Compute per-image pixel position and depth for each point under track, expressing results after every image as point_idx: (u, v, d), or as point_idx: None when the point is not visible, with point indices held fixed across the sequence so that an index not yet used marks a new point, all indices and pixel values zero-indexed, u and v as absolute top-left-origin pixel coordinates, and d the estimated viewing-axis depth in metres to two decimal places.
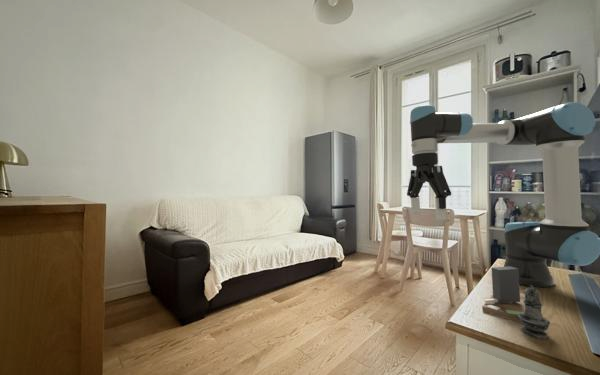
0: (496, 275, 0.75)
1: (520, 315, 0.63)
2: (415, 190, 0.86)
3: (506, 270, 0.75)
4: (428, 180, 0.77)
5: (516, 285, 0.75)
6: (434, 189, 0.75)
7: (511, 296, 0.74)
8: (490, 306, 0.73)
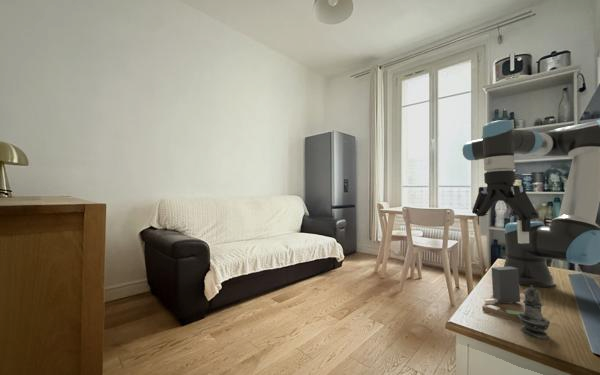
0: (496, 275, 0.75)
1: (520, 315, 0.63)
2: (484, 208, 0.82)
3: (506, 270, 0.75)
4: (507, 200, 0.73)
5: (516, 285, 0.75)
6: (515, 210, 0.70)
7: (511, 296, 0.74)
8: (490, 306, 0.73)
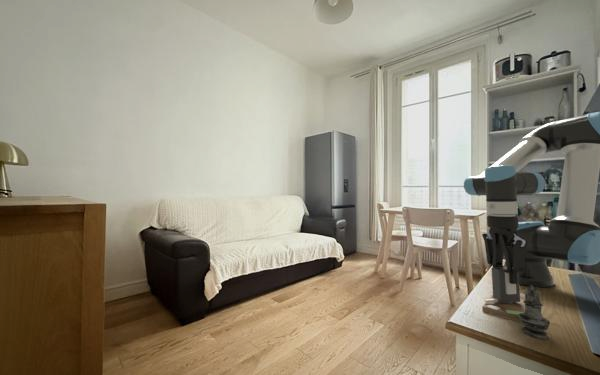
0: (496, 275, 0.75)
1: (520, 315, 0.63)
2: (497, 257, 0.77)
3: (506, 270, 0.75)
4: (504, 249, 0.74)
5: (516, 285, 0.75)
6: (507, 261, 0.74)
7: (511, 296, 0.74)
8: (490, 306, 0.73)
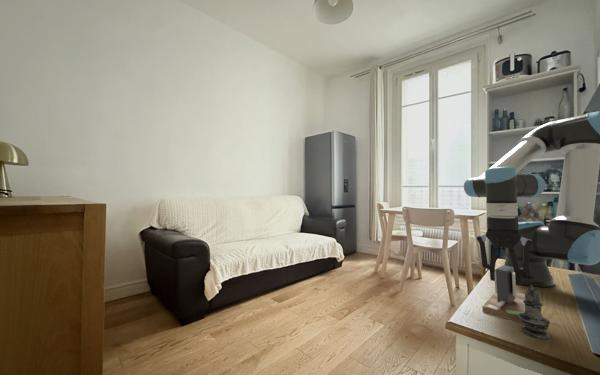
0: (502, 277, 0.74)
1: (520, 315, 0.63)
2: None
3: (509, 270, 0.74)
4: (512, 250, 0.73)
5: None
6: (515, 263, 0.73)
7: (512, 295, 0.75)
8: (490, 306, 0.73)
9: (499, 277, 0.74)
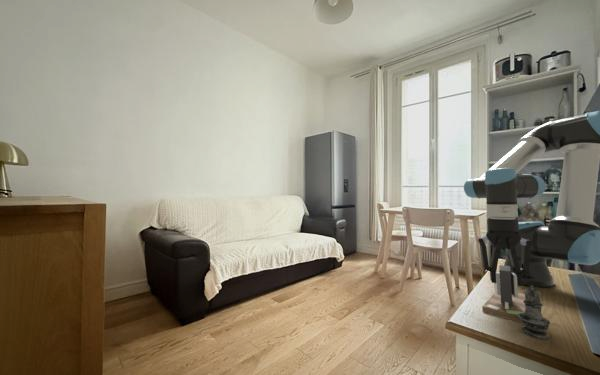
0: (506, 277, 0.73)
1: (520, 315, 0.63)
2: None
3: None
4: (514, 252, 0.74)
5: None
6: (516, 264, 0.73)
7: None
8: (490, 306, 0.73)
9: (503, 278, 0.74)
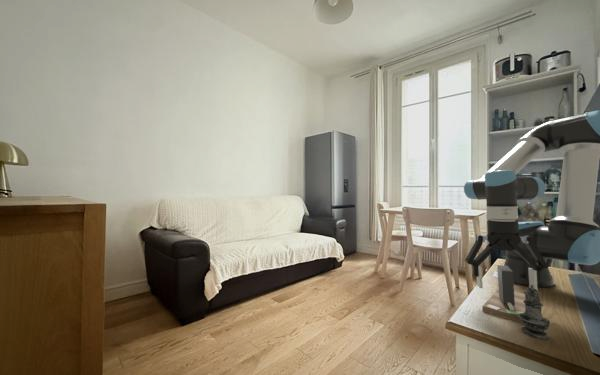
0: (509, 277, 0.73)
1: (520, 315, 0.63)
2: None
3: (510, 270, 0.75)
4: (521, 251, 0.73)
5: None
6: (531, 261, 0.73)
7: None
8: (490, 306, 0.73)
9: (505, 278, 0.73)
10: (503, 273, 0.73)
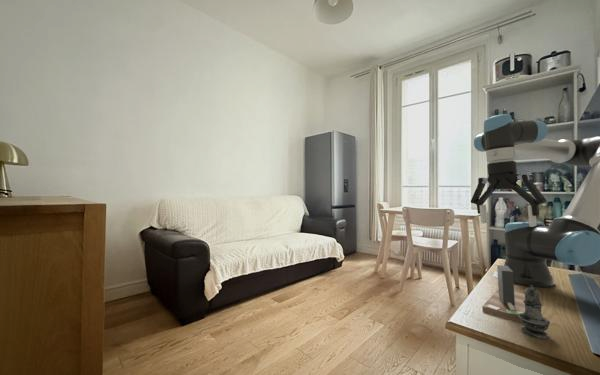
0: (509, 277, 0.73)
1: (520, 315, 0.63)
2: (485, 197, 0.87)
3: (510, 270, 0.75)
4: (515, 188, 0.79)
5: None
6: (525, 197, 0.77)
7: None
8: (490, 306, 0.73)
9: (505, 278, 0.73)
10: (503, 273, 0.73)
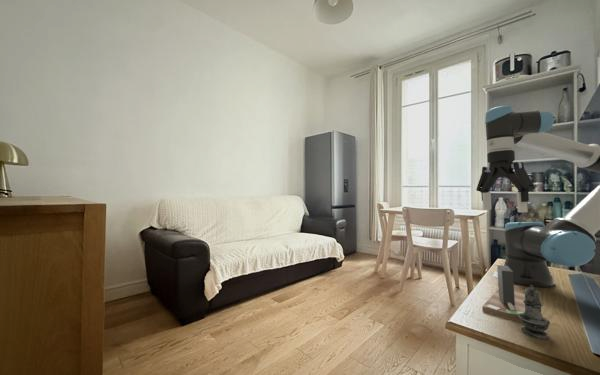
0: (509, 277, 0.73)
1: (520, 315, 0.63)
2: (487, 185, 0.92)
3: (510, 270, 0.75)
4: (507, 175, 0.83)
5: None
6: (515, 184, 0.81)
7: None
8: (490, 306, 0.73)
9: (505, 278, 0.73)
10: (503, 273, 0.73)
